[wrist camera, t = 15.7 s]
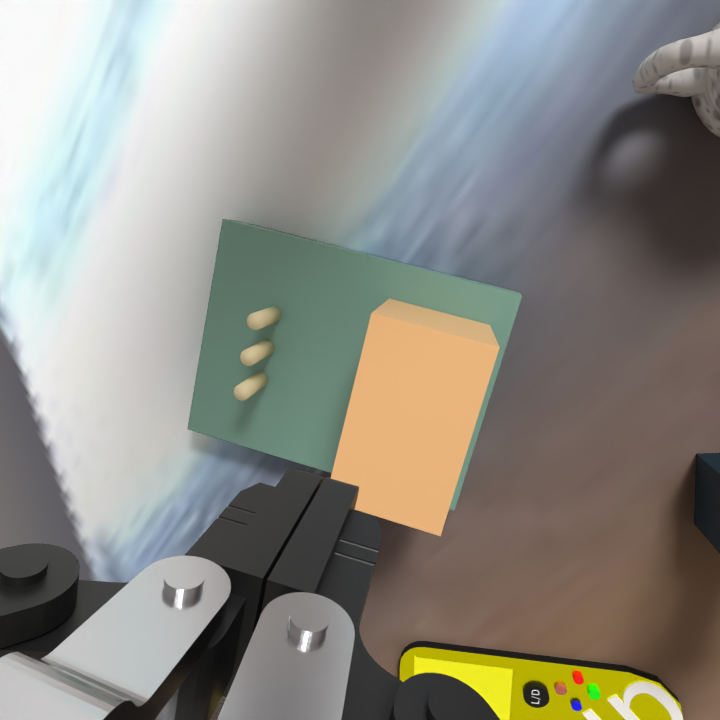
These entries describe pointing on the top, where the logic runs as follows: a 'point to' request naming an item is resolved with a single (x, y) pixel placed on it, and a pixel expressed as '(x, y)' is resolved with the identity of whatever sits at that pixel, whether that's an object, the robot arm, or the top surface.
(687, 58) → the mug
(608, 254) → the top surface
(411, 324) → the block
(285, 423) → the header board
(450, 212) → the top surface
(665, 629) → the top surface
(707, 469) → the watch
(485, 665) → the game console
